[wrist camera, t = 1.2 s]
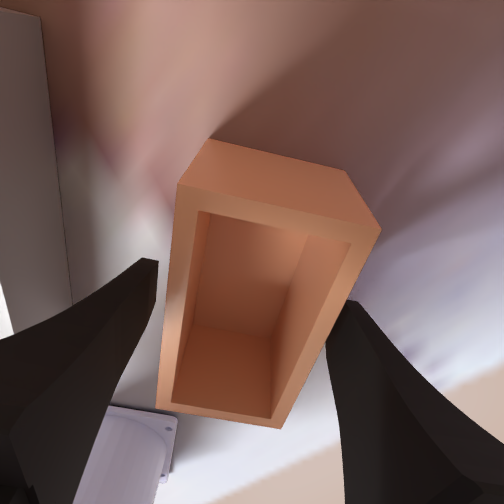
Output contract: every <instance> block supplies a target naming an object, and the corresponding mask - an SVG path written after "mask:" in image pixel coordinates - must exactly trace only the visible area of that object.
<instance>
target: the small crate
mask: <svg viewBox="0 0 504 504" xmlns="http://www.w3.org/2000/svg"><path fill="white" fill-rule="evenodd" d="M381 230H382V229H381V227H380V225H379V224H378V222H377V221H376V219H375V218H374V216H373V214H372V213H371V211H370V210H369V208H368V207H367V205H366V203H365V202H364V200H363V199H362V197H361V196H360V194H359V192H358V191H357V189H356V188H355V186H354V184H353V183H352V181H351V180H350V178H349V177H348V175H347V173H346V172H345V171H344V170H340V169H336V168H332V167H328V166H323V165H319V164H315V163H311V162H307V161H302V160H298V159H294V158H290V157H286V156H281V155H277V154H273V153H269V152H265V151H260V150H256V149H252V148H248V147H244V146H239V145H235V144H231V143H227V142H222V141H218V140H214V139H210V138H208V139H207V141H206V142H205V144H204V145H203V147H202V148H201V150H200V151H199V152H198V154H197V155H196V157H195V158H194V160H193V161H192V163H191V164H190V166H189V167H188V169H187V170H186V172H185V173H184V174H183V176H182V177H181V179H180V180H179V182H178V183H177V192H176V202H175V213H174V223H173V233H172V243H171V253H170V263H169V273H168V283H167V293H166V304H165V314H164V324H163V334H162V344H161V354H160V364H159V374H158V384H157V395H156V405H155V408H156V409H162V410H168V411H174V412H180V413H186V414H192V415H198V416H204V417H210V418H216V419H222V420H228V421H234V422H240V423H246V424H252V425H258V426H264V427H270V428H276V429H281V428H282V426H283V424H284V422H285V420H286V418H287V416H288V414H289V413H290V411H291V409H292V407H293V405H294V403H295V401H296V399H297V397H298V395H299V393H300V391H301V389H302V387H303V385H304V383H305V381H306V379H307V377H308V375H309V373H310V371H311V369H312V367H313V365H314V363H315V361H316V359H317V357H318V355H319V353H320V351H321V349H322V347H323V345H324V343H325V341H326V339H327V337H328V335H329V333H330V331H331V329H332V327H333V325H334V323H335V321H336V319H337V317H338V315H339V313H340V312H341V310H342V308H343V306H344V304H345V302H346V300H347V298H348V296H349V294H350V292H351V290H352V288H353V286H354V284H355V282H356V280H357V278H358V276H359V274H360V272H361V270H362V268H363V266H364V264H365V262H366V260H367V258H368V256H369V254H370V252H371V250H372V248H373V246H374V244H375V242H376V240H377V238H378V236H379V234H380V232H381Z"/></svg>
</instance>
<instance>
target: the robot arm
mask: <svg viewBox="0 0 504 504" xmlns="http://www.w3.org/2000/svg"><path fill="white" fill-rule="evenodd" d="M158 264H159V261H157V260H152V259H147V258H141V259H139V260H138V261H137V262H135V263H134V264H133V265H132V266H130V267H129V268H128V269H126V270H125V271H124V272H122V273H121V274H120V275H118V276H117V277H116V278H114V279H113V280H111V281H110V282H109V283H107V284H106V285H104V286H103V287H102V288H100V289H99V290H97V291H95V292H94V293H92V294H91V295H89V296H88V297H86V298H84V299H83V300H81V301H80V302H78V303H76V304H75V305H73V306H71V307H69V308H68V309H66V310H64V311H62V312H60V313H58V314H57V315H55V316H53V317H51V318H49V319H47V320H45V321H42V322H40V323H38V324H36V325H34V326H31V327H29V328H27V329H25V330H22V331H20V332H18V333H16V334H13V335H11V336H8V337H6V338H3V339H0V504H153V503H154V499H155V495H156V491H157V487H158V483H166V482H167V480H168V476H169V470H170V464H171V458H172V452H173V446H174V441H175V435H176V429H177V423H178V420H177V418H176V417H174V416H169V415H163V414H157V413H151V412H145V411H139V410H133V409H127V408H121V407H115V406H109V403H110V401H111V398H112V396H113V393H114V391H115V388H116V386H117V384H118V382H119V379H120V377H121V375H122V373H123V371H124V369H125V367H126V365H127V364H128V362H129V360H130V358H131V356H132V354H133V352H134V350H135V348H136V346H137V344H138V342H139V340H140V338H141V336H142V334H143V332H144V330H145V328H146V326H147V324H148V321H149V319H150V316H151V313H152V311H153V308H154V305H155V302H156V291H157V278H158ZM325 344H326V359H327V364H328V369H329V375H330V380H331V385H332V390H333V395H334V400H335V405H336V410H337V415H338V421H339V428H340V438H341V449H342V459H343V460H342V461H343V474H344V491H345V504H504V444H503V443H502V442H500V441H499V440H498V439H496V438H495V437H494V436H492V435H491V434H490V433H488V432H487V431H486V430H484V429H483V428H482V427H480V426H479V425H478V424H476V423H475V422H474V421H473V420H471V419H470V418H469V417H468V416H466V415H465V414H464V413H463V412H462V411H460V410H459V409H458V408H457V407H456V406H454V405H453V404H452V403H451V402H450V401H449V400H447V399H446V398H445V397H444V396H443V395H442V394H441V393H440V392H439V391H438V390H436V389H435V388H434V387H433V386H432V385H431V384H430V383H429V382H428V381H427V380H426V379H425V378H424V377H423V376H422V375H421V374H420V373H419V372H418V371H417V370H416V369H415V368H414V367H413V366H412V365H411V364H410V363H409V361H408V360H407V359H406V358H405V357H404V356H403V355H402V354H401V353H400V352H399V350H398V349H397V348H396V347H395V346H394V345H393V344H392V342H391V341H390V340H389V339H388V338H387V336H386V335H385V334H384V333H383V332H382V330H381V329H380V328H379V327H378V325H377V324H376V323H375V322H374V320H373V319H372V318H371V317H370V315H369V314H368V313H367V312H366V311H365V309H364V308H363V307H362V306H361V305H360V304H359V302H357V301H352V300H346V302H345V304H344V306H343V308H342V310H341V312H340V313H339V315H338V317H337V319H336V321H335V323H334V325H333V327H332V329H331V331H330V333H329V335H328V337H327V339H326V341H325Z"/></svg>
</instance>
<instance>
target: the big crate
mask: <svg viewBox="0 0 504 504" xmlns="http://www.w3.org/2000/svg"><path fill="white" fill-rule="evenodd" d="M71 306H72V298H71V289H70V280H69V271H68V262H67V253H66V244H65V235H64V226H63V217H62V208H61V199H60V190H59V181H58V173H57V164H56V155H55V146H54V137H53V128H52V119H51V110H50V101H49V92H48V83H47V74H46V65H45V56H44V47H43V39H42V30H41V21H40V17H38V16H34V15H30V14H26V13H22V12H18V11H14V10H11V9H7V8H3V7H0V339H3V338H6V337H8V336H11V335H13V334H16V333H18V332H20V331H22V330H25V329H27V328H29V327H31V326H34V325H36V324H38V323H40V322H42V321H45V320H47V319H49V318H51V317H53V316H55V315H57V314H58V313H60V312H62V311H64V310H66V309H68V308H69V307H71Z"/></svg>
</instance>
